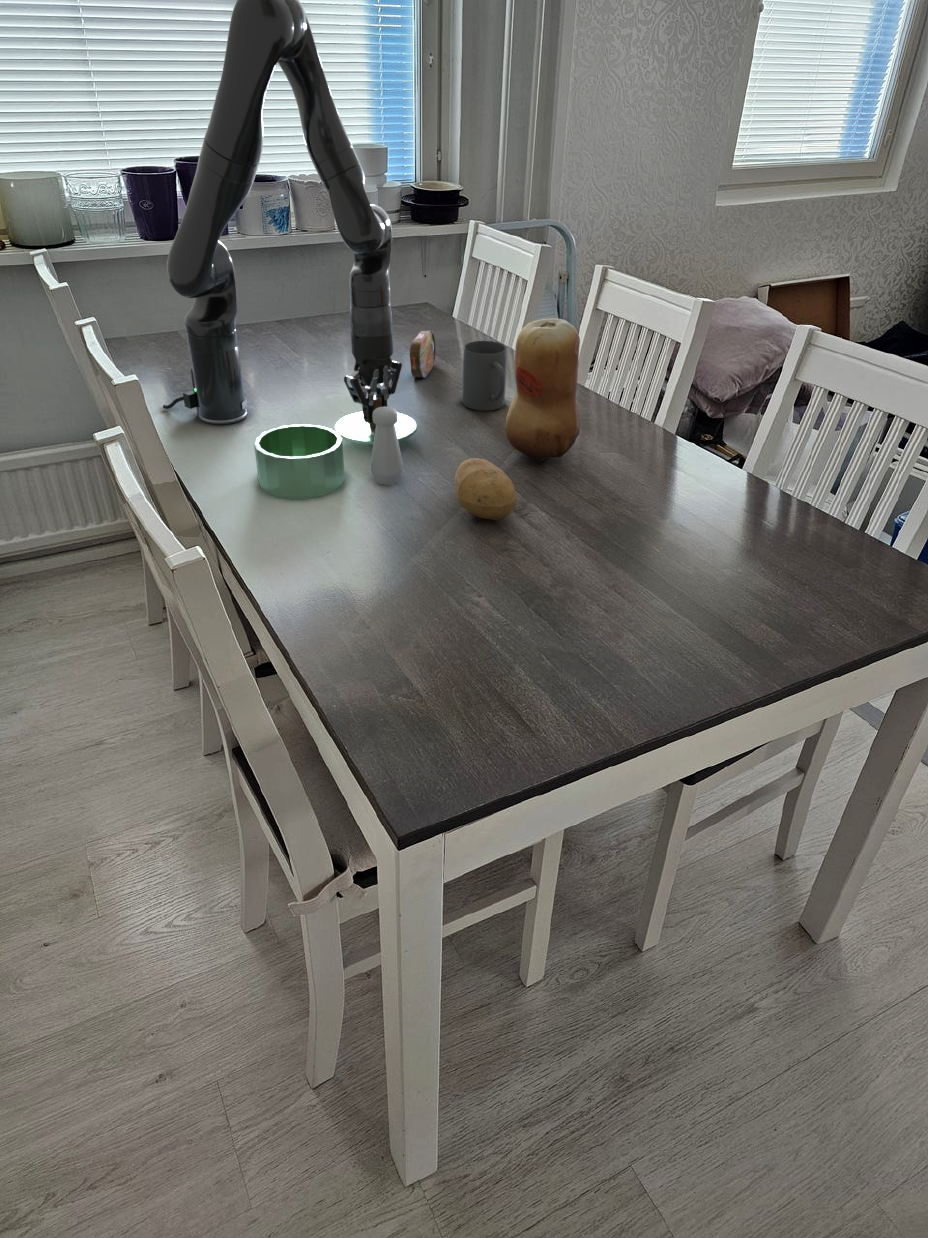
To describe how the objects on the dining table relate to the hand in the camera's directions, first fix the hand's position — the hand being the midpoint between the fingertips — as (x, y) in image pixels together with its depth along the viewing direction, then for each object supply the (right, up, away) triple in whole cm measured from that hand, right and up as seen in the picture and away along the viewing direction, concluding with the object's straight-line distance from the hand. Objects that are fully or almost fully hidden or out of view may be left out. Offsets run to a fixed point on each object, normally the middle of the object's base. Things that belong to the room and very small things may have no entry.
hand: (375, 420), depth 163 cm
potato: (+20, -21, -22) cm, 37 cm away
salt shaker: (+3, -14, -12) cm, 19 cm away
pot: (-11, -14, -14) cm, 23 cm away
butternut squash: (+31, -8, -3) cm, 32 cm away
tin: (+7, +19, +35) cm, 41 cm away
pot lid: (0, -1, +1) cm, 2 cm away
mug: (+22, +7, +18) cm, 29 cm away
